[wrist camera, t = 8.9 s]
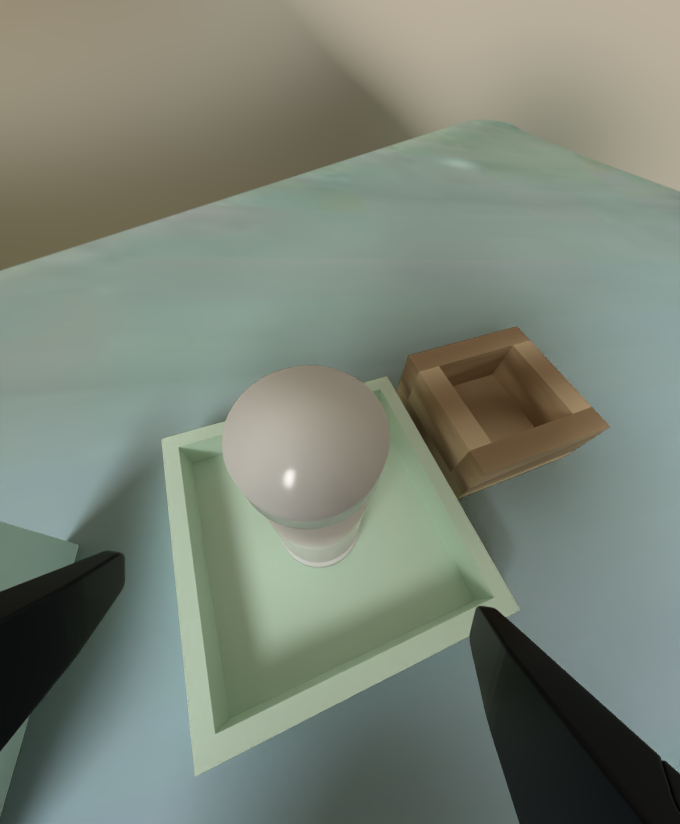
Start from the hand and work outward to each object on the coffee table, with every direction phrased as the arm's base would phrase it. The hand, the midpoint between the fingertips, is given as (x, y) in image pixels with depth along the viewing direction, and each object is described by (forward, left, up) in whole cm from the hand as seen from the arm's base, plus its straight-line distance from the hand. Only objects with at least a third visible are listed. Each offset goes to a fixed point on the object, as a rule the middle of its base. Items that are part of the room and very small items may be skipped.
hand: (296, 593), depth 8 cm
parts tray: (+3, -2, -10) cm, 10 cm away
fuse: (+3, -2, -9) cm, 10 cm away
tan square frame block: (+6, -14, -10) cm, 18 cm away
